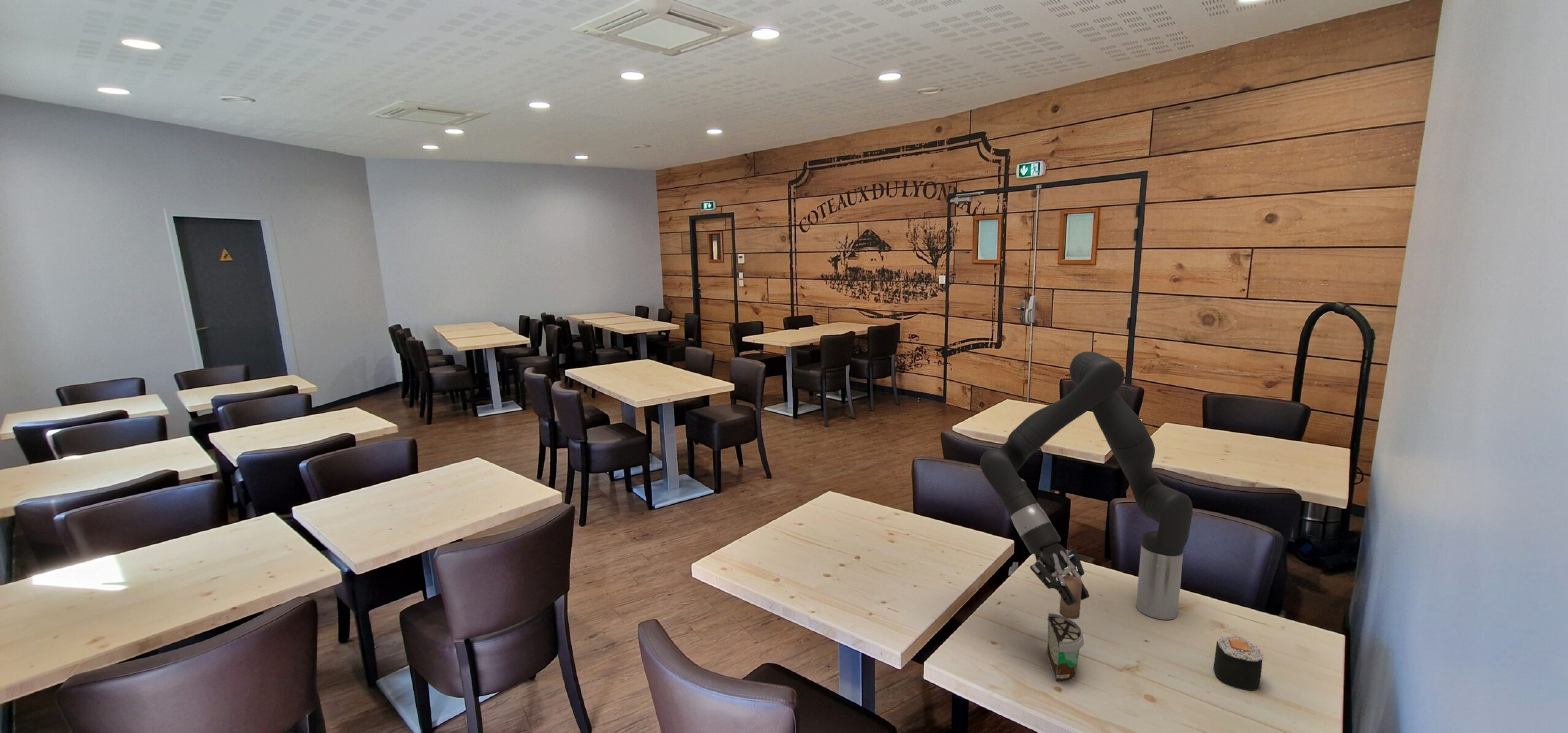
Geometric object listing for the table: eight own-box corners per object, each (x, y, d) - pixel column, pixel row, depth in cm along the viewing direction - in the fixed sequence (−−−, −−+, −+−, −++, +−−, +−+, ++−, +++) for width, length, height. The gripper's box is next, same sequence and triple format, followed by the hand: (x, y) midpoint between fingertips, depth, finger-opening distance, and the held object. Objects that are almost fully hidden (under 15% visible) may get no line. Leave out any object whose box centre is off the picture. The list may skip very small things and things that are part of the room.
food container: (1088, 689, 133) (1091, 646, 131) (1057, 685, 134) (1060, 643, 133) (1073, 654, 145) (1076, 614, 143) (1045, 651, 146) (1048, 611, 144)
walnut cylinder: (1067, 607, 140) (1069, 573, 139) (1083, 615, 137) (1086, 581, 135) (1055, 612, 138) (1058, 578, 137) (1071, 621, 135) (1074, 586, 133)
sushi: (1217, 684, 134) (1221, 650, 133) (1210, 662, 141) (1214, 630, 140) (1264, 695, 131) (1268, 660, 129) (1254, 671, 138) (1258, 638, 137)
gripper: (1024, 528, 137) (1070, 604, 129) (1065, 514, 144) (1111, 586, 136) (1003, 541, 142) (1046, 616, 134) (1044, 528, 150) (1087, 598, 141)
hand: (1078, 601), depth 135 cm, fingers closed on walnut cylinder, 4 cm apart
